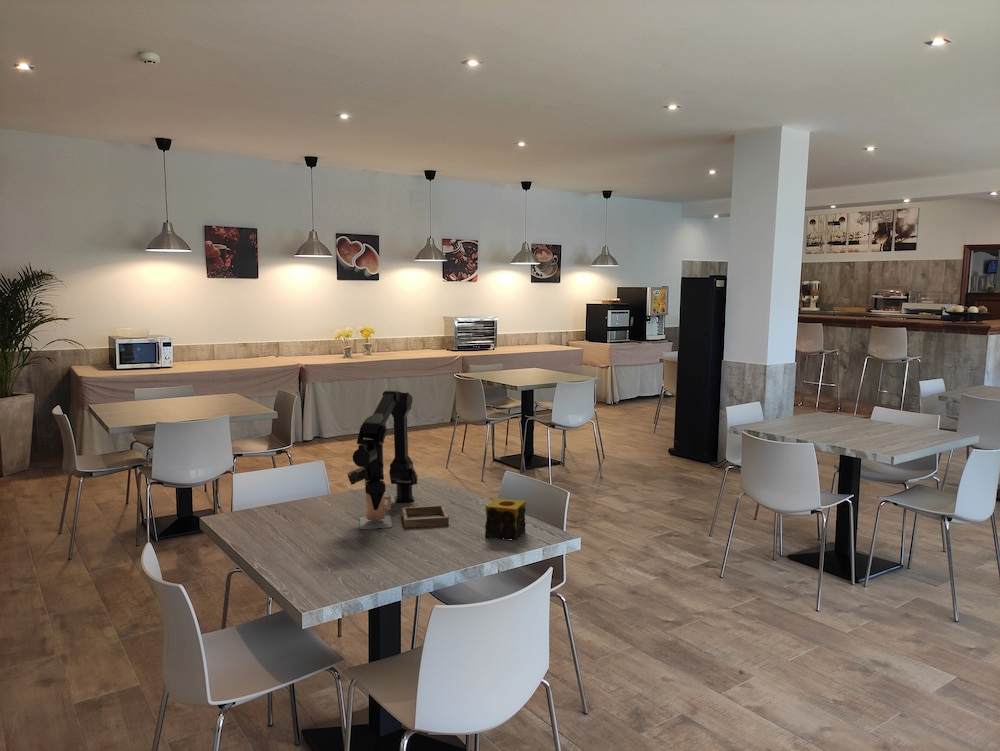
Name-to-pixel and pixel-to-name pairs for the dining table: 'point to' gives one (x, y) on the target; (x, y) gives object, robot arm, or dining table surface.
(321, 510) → the dining table surface
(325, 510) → the dining table surface
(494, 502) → the candle
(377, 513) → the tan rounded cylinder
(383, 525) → the pad
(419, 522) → the wooden picture frame
